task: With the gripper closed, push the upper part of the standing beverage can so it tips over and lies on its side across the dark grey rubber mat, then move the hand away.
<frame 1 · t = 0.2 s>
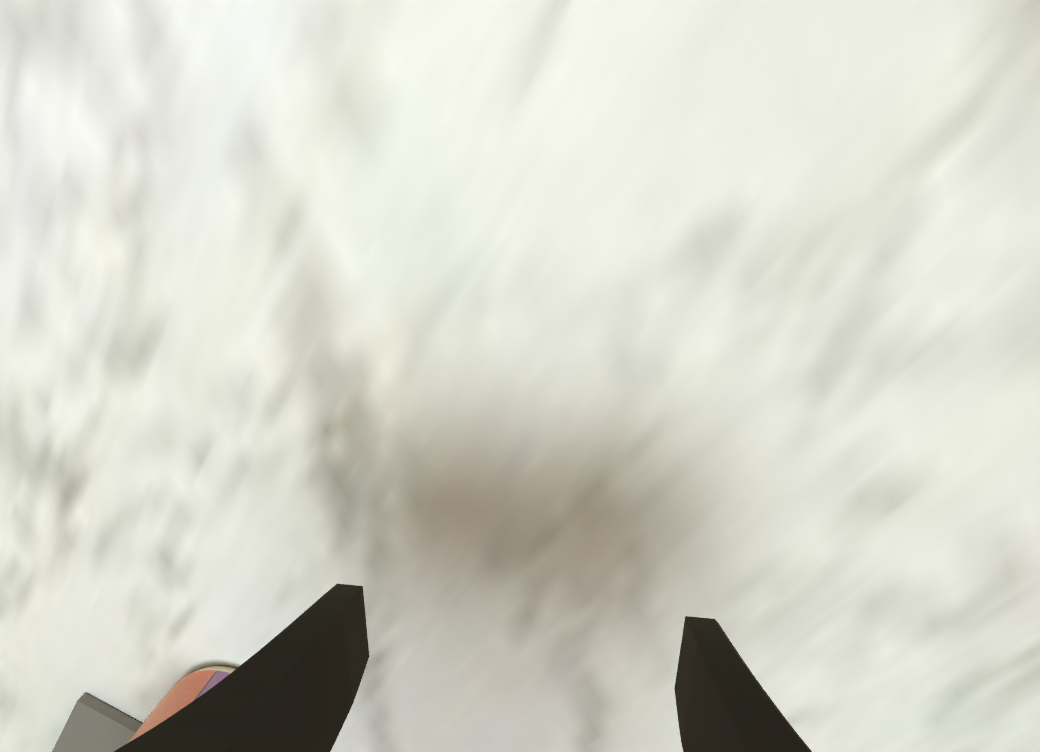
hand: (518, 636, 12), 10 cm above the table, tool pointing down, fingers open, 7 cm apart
beverage can: (235, 700, 29), on the table
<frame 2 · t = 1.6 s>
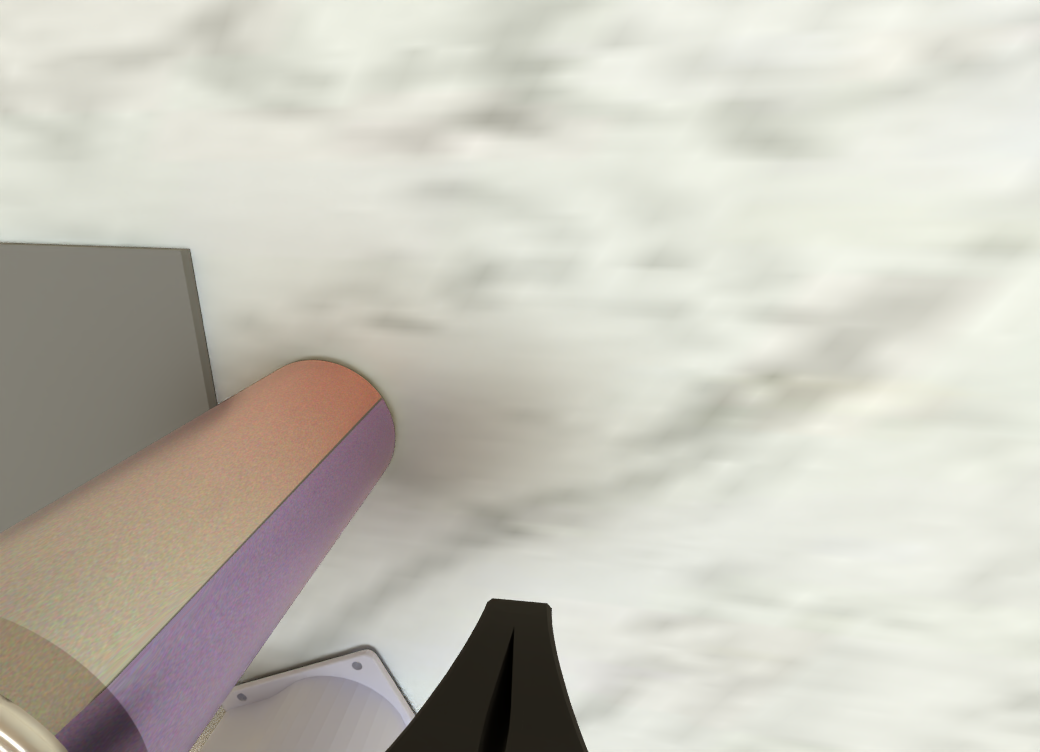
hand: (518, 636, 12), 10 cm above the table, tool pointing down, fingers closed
beverage can: (333, 420, 23), on the table
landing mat: (27, 403, 24), on the table
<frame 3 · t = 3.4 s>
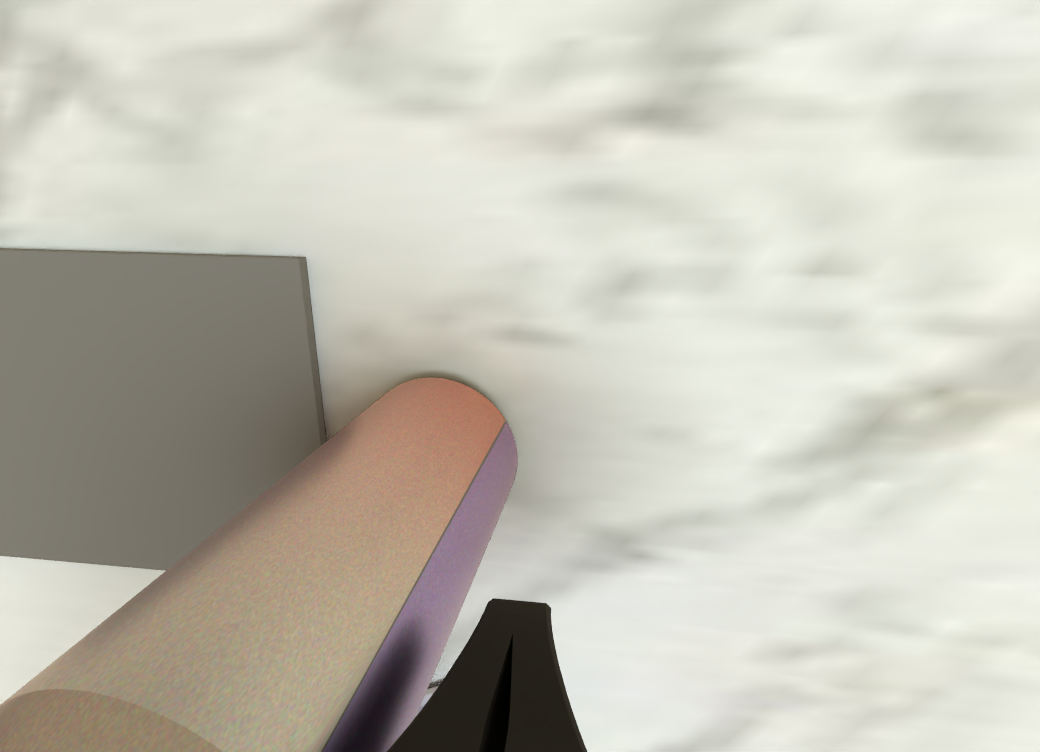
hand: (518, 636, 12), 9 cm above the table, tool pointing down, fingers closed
beverage can: (447, 442, 21), on the table
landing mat: (118, 421, 23), on the table
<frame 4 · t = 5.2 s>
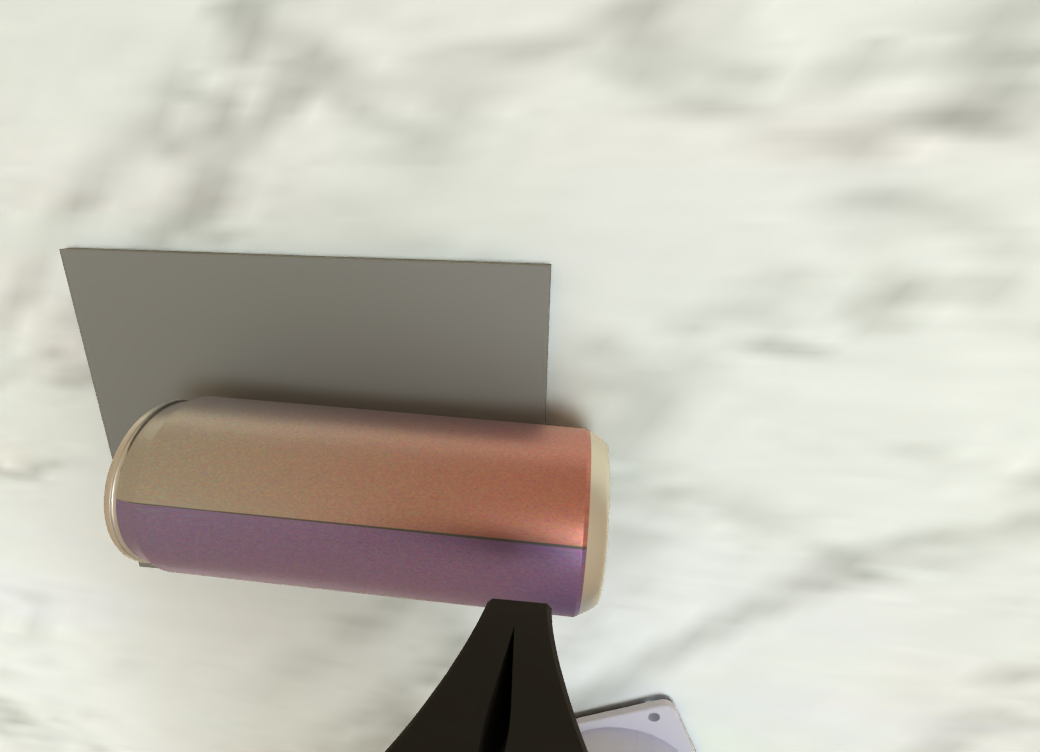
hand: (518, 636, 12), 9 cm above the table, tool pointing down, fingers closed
beverage can: (606, 521, 18), point 3 cm above the table, touching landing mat
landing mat: (320, 433, 22), on the table
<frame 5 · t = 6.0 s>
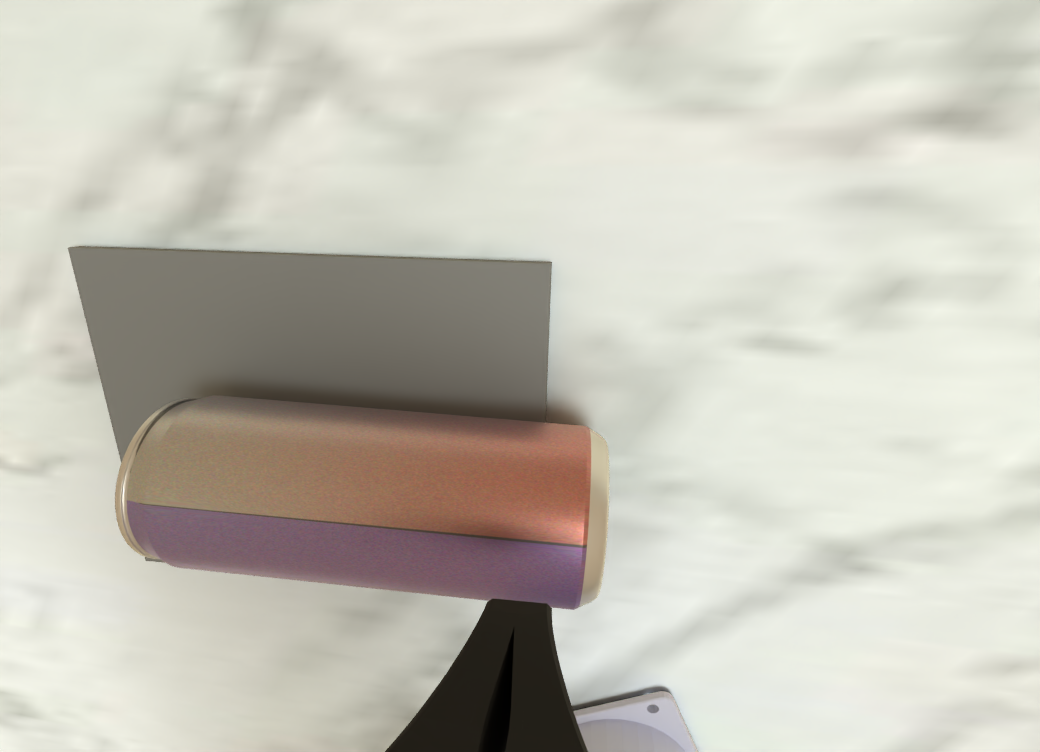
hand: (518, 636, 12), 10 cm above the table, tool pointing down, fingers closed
beverage can: (606, 516, 18), point 3 cm above the table, touching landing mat
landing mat: (324, 428, 22), on the table
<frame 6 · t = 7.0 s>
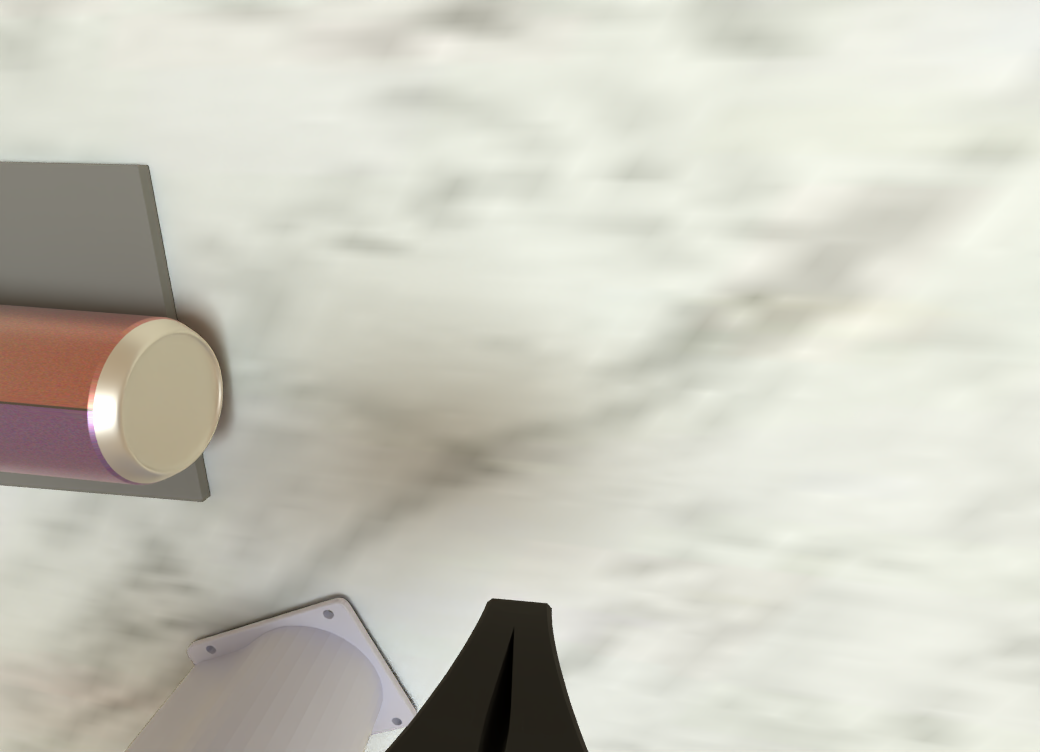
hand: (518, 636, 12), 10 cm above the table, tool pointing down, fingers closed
beverage can: (184, 402, 19), point 3 cm above the table, touching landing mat
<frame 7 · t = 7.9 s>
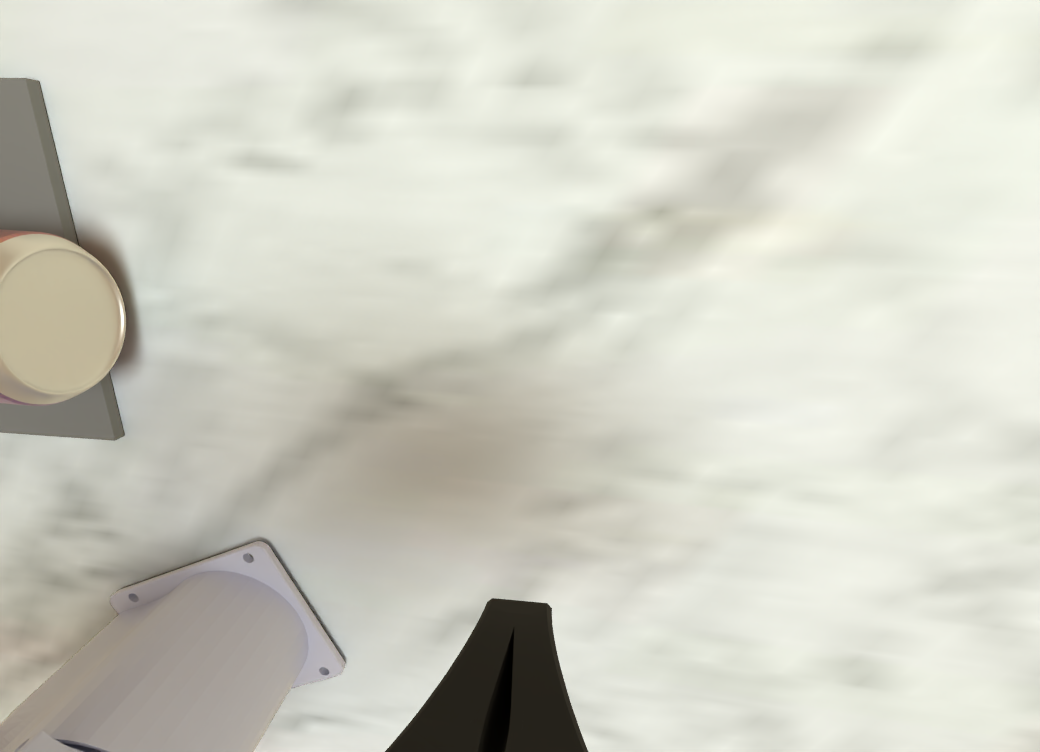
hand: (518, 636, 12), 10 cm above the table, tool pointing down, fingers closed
beverage can: (72, 322, 19), point 3 cm above the table, touching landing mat
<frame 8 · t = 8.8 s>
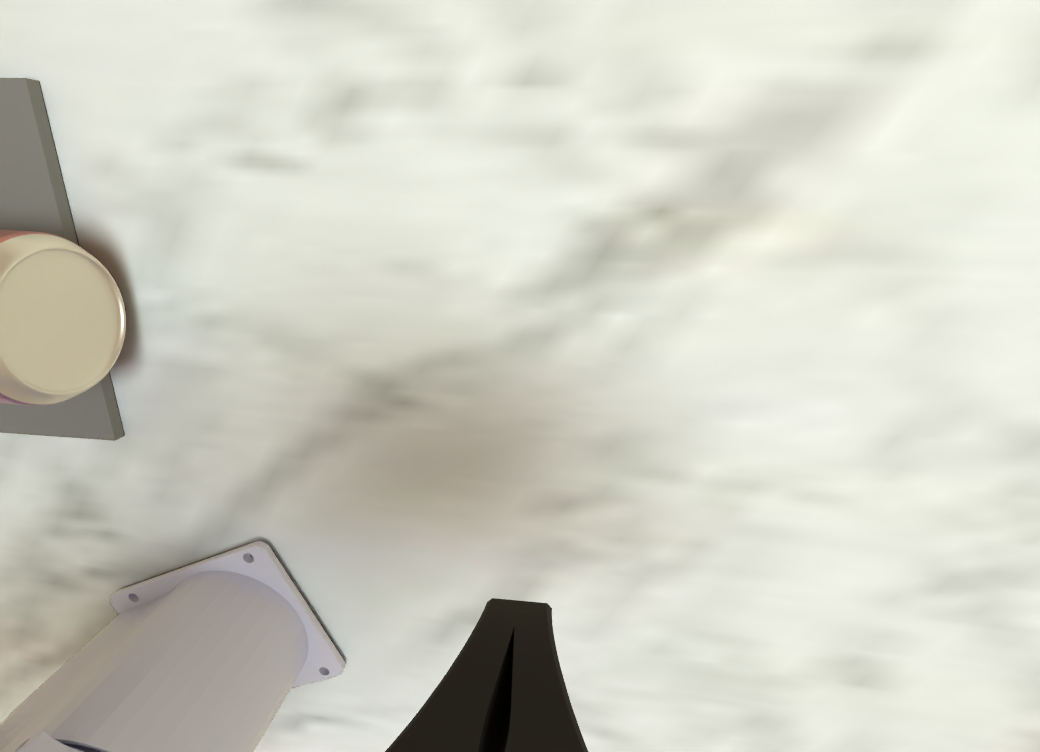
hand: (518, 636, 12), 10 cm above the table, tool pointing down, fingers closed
beverage can: (72, 322, 19), point 3 cm above the table, touching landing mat
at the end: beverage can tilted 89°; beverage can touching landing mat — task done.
